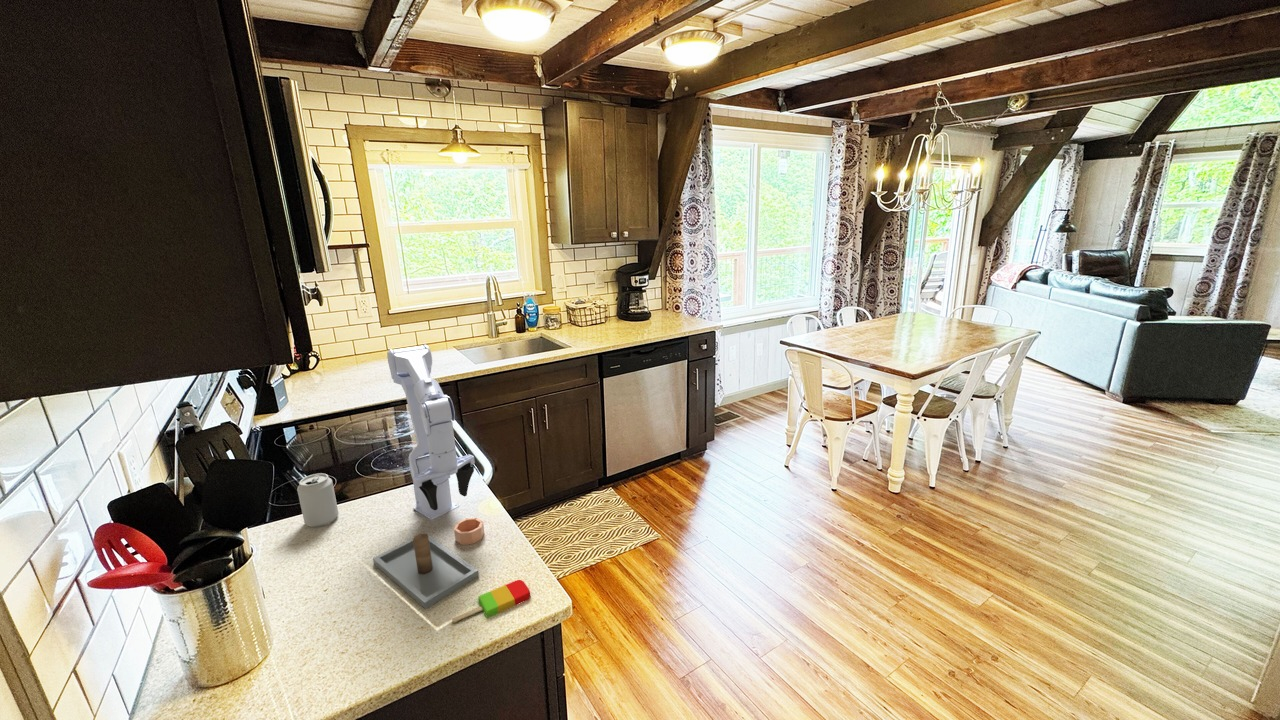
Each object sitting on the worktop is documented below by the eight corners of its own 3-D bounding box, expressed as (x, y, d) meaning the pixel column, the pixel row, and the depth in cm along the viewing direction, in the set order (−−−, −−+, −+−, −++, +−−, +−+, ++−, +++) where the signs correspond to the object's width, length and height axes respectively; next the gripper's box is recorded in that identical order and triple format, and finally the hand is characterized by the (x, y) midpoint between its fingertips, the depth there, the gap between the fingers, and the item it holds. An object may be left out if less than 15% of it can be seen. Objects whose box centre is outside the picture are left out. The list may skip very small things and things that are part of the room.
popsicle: (532, 600, 102) (532, 592, 101) (456, 634, 93) (455, 625, 93) (522, 584, 106) (521, 576, 105) (448, 616, 98) (447, 607, 97)
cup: (451, 539, 120) (449, 526, 120) (474, 527, 125) (472, 515, 124) (466, 549, 117) (464, 536, 116) (488, 536, 121) (487, 523, 120)
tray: (374, 566, 112) (372, 558, 111) (425, 539, 121) (424, 532, 120) (425, 611, 98) (424, 602, 98) (479, 578, 107) (478, 570, 107)
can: (298, 529, 125) (288, 486, 122) (316, 512, 133) (307, 471, 129) (329, 528, 126) (320, 485, 122) (344, 512, 133) (337, 470, 130)
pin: (415, 570, 109) (410, 538, 107) (428, 563, 111) (423, 531, 109) (422, 576, 107) (417, 543, 105) (435, 568, 109) (430, 536, 107)
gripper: (421, 465, 108) (429, 521, 112) (479, 442, 119) (485, 494, 122) (404, 456, 112) (413, 510, 116) (462, 435, 123) (468, 485, 127)
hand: (449, 501), depth 119 cm, fingers open, 7 cm apart
